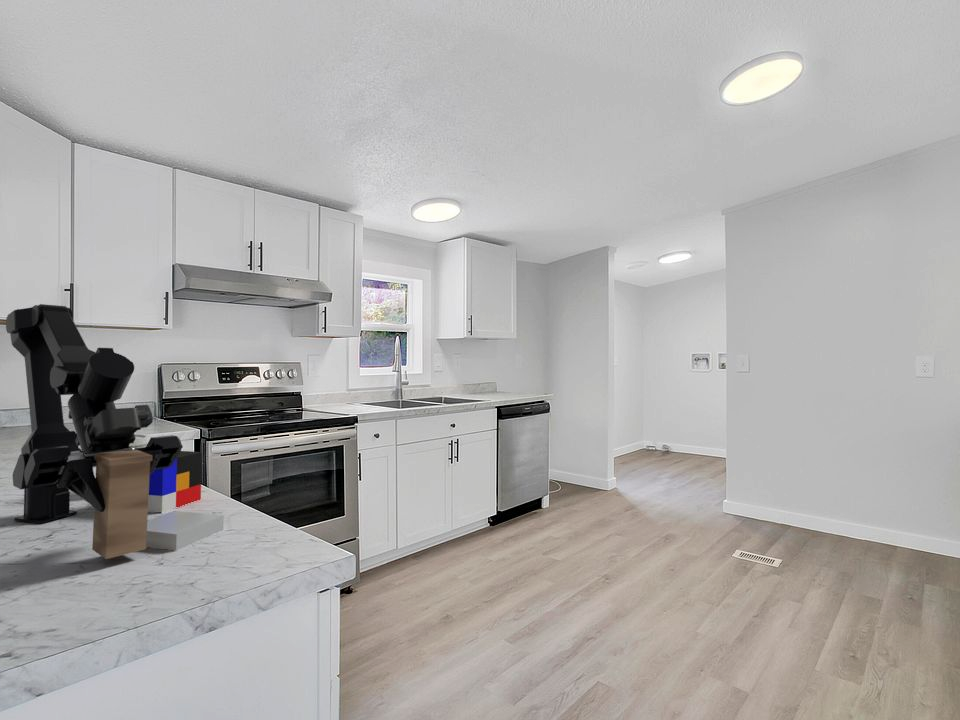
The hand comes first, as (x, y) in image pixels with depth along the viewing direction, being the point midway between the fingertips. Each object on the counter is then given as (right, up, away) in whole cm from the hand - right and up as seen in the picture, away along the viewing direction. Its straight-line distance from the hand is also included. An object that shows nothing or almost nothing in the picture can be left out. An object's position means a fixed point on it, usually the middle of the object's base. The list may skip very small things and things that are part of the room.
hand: (124, 505), depth 74 cm
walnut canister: (-1, -7, +1) cm, 7 cm away
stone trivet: (+1, -9, +10) cm, 14 cm away
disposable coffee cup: (-26, -8, +38) cm, 47 cm away
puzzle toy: (-13, -8, +29) cm, 33 cm away
